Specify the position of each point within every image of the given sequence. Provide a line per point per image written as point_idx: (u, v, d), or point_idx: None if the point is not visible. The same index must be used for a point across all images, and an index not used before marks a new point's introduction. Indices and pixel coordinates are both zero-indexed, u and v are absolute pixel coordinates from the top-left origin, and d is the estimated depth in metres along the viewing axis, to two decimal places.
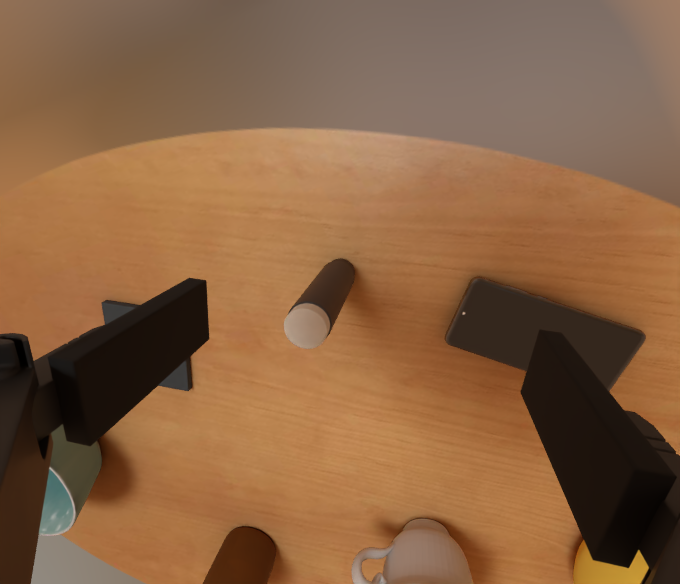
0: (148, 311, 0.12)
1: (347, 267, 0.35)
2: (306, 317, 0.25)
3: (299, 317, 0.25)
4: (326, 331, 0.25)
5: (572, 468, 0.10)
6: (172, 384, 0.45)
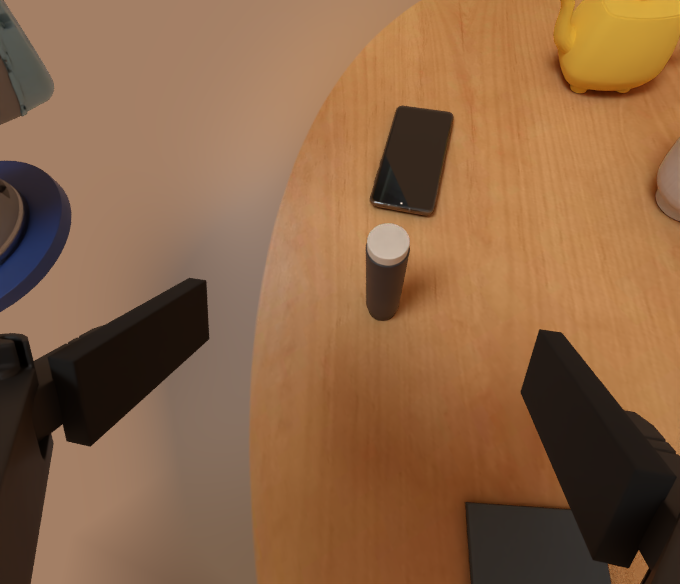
0: (148, 311, 0.12)
1: None
2: (375, 239, 0.27)
3: (376, 245, 0.27)
4: (387, 223, 0.28)
5: (572, 469, 0.10)
6: None
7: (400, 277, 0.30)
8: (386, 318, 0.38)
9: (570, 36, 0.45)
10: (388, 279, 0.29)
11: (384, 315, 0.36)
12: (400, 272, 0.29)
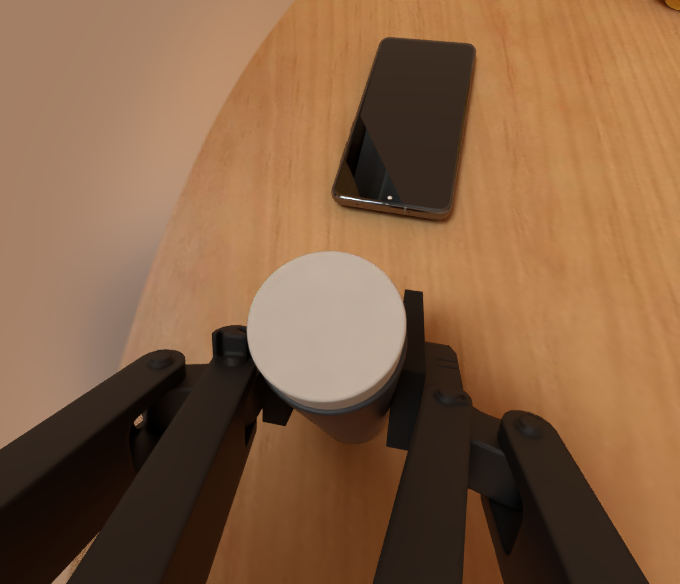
0: None
1: None
2: (278, 316, 0.07)
3: (278, 341, 0.07)
4: (325, 252, 0.08)
5: None
6: None
7: (381, 410, 0.10)
8: None
9: None
10: (343, 425, 0.09)
11: (355, 443, 0.16)
12: (379, 406, 0.09)
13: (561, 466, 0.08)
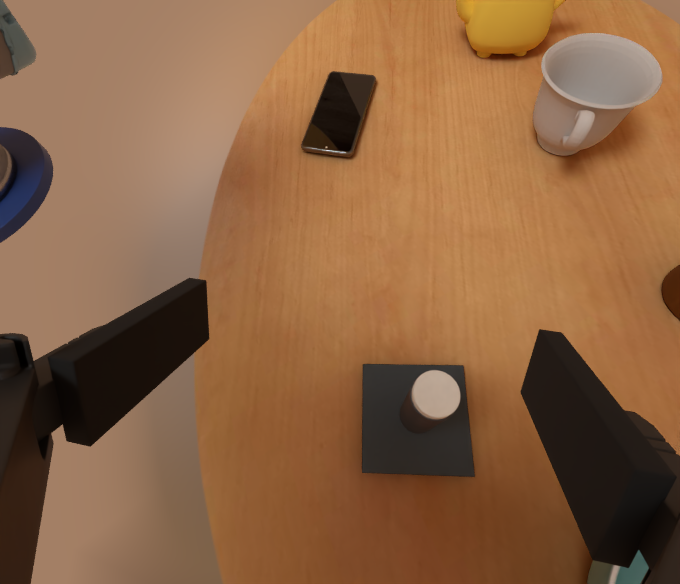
0: (148, 311, 0.12)
1: None
2: (422, 392, 0.24)
3: (423, 399, 0.24)
4: (434, 370, 0.25)
5: (572, 469, 0.10)
6: (459, 385, 0.37)
7: None
8: None
9: (468, 7, 0.54)
10: (434, 424, 0.26)
11: (420, 433, 0.34)
12: None
13: None
